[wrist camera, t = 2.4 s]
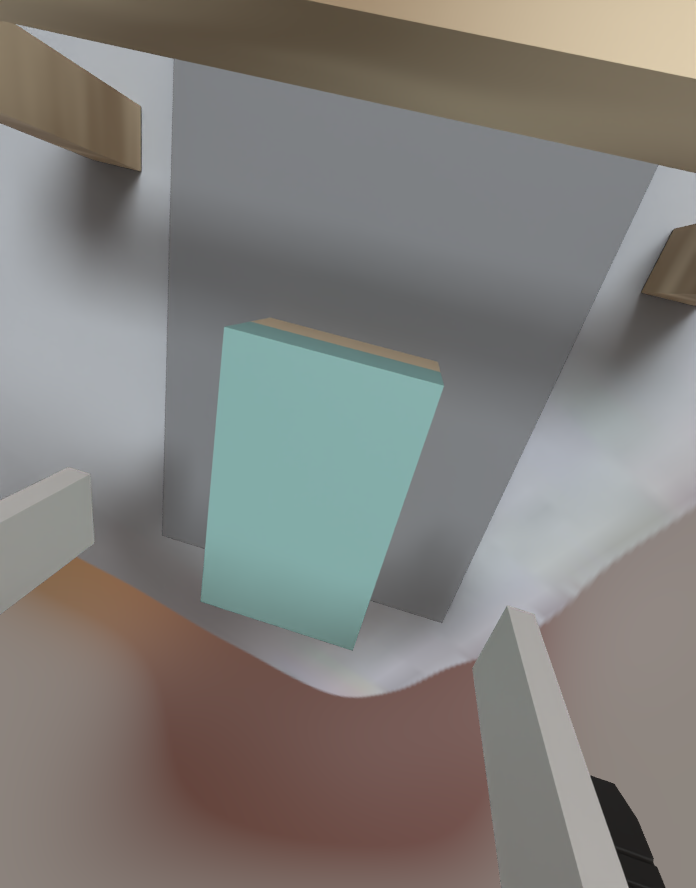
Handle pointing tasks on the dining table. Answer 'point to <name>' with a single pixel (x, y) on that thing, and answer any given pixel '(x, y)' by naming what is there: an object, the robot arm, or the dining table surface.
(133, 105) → the rail
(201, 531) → the mat
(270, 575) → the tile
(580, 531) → the dining table surface
